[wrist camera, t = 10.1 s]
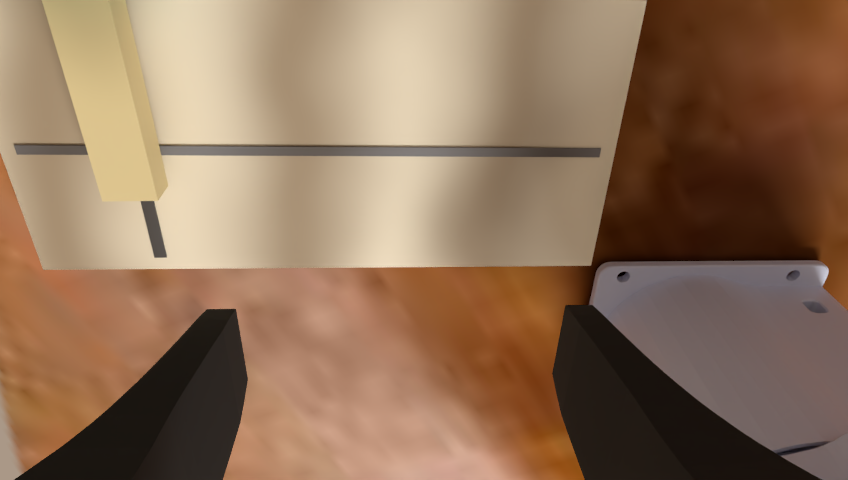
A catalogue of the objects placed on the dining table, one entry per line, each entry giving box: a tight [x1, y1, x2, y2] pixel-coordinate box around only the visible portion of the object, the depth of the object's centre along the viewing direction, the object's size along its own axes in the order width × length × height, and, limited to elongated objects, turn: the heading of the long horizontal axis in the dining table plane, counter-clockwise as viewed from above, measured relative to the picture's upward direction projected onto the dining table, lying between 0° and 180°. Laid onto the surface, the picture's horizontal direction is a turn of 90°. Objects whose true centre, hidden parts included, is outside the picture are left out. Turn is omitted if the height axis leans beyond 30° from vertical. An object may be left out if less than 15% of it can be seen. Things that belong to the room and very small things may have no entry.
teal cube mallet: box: [42, 0, 168, 202], centre depth 16 cm, size 4×10×5 cm, turn 179°
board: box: [0, 0, 647, 270], centre depth 19 cm, size 19×9×2 cm, turn 88°
